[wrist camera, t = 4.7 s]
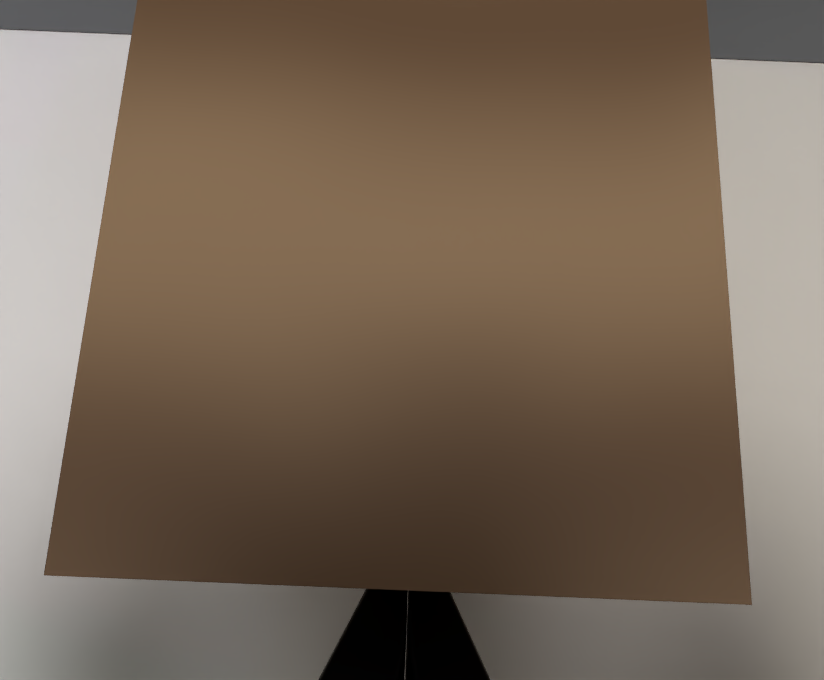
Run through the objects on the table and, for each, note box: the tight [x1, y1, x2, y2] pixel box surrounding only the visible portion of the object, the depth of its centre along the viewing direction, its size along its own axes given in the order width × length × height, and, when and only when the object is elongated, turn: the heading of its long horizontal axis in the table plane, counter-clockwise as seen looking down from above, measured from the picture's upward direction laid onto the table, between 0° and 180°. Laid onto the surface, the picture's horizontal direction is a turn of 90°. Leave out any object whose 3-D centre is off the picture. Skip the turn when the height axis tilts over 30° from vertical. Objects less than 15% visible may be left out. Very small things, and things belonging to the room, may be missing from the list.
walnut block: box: [44, 0, 752, 605], centre depth 13 cm, size 14×8×9 cm, turn 178°
